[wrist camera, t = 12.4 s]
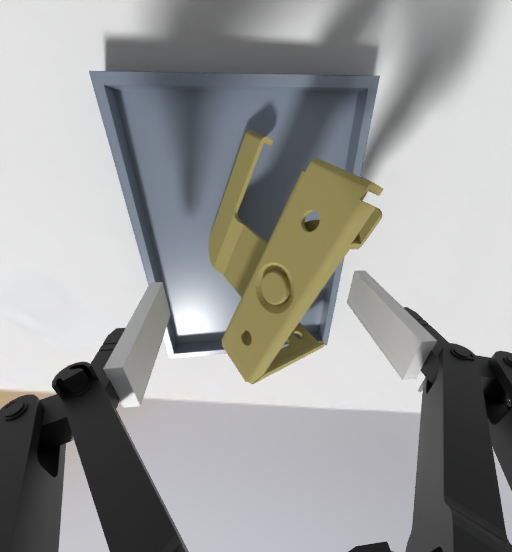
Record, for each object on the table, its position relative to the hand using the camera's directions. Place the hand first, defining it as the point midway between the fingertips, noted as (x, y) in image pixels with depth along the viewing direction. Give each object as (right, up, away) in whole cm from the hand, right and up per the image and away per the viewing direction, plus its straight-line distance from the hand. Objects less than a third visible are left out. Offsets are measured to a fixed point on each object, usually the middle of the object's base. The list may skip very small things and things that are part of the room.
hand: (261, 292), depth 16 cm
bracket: (+3, +3, +3) cm, 6 cm away
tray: (-1, +4, +5) cm, 7 cm away
